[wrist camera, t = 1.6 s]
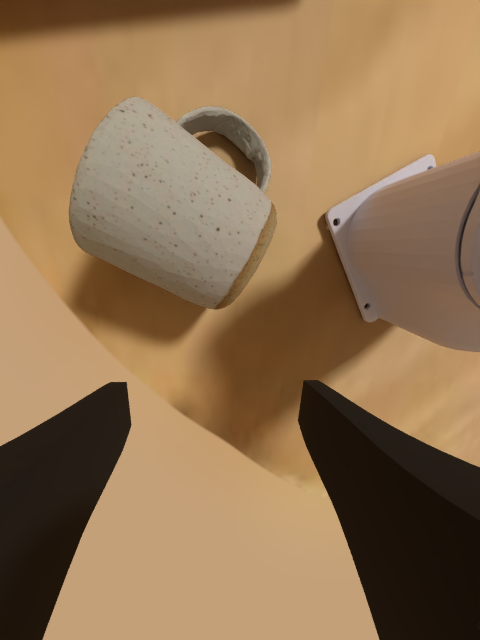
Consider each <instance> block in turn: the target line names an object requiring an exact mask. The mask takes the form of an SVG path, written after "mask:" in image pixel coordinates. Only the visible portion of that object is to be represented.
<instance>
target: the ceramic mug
mask: <svg viewBox="0 0 480 640" xmlns="http://www.w3.org/2000/svg"><path fill="white" fill-rule="evenodd" d="M203 131H213V132H217V133H218V134H222V135H224V136H225V137H227V138H228V139H229V140H230V141H231V142H233V143H234V144H235V145H236V146H237V147H238V148H239V149H240V150H241V151H242V152H243V153H245V155H246V157H247V158H248V159H249V160H251V161H252V162H253V164H254V166H255V169H256V174H257V185H255V184H254V183H253V182H251V181H250V180H249V179H248V178H246V177H245V176H244V175H243V174H241V173H240V172H238V171H237V170H235V169H234V168H232V167H231V166H230V165H228V164H227V163H225V162H224V161H223V160H222V159H220V158H219V157H218V156H217V155H216V154H214V153H213V152H212V151H211V150H209V149H208V148H207V147H206V146H205V145H203V144H202V143H201V142H200V141H199V140H197V139H196V138H195V137H194V136H192V135H193V134H195V133H197V132H203ZM270 174H271V161H270V157H269V153H268V151H267V148H266V146H265V143H264V142H263V140H262V139H261V137H260V136H259V134H258V133H257V132H256V131H255V129H254V128H253V127H252V126H251V125H250V124H249V123H248V122H247V121H246V120H244V119H243V118H242V117H240V116H239V115H238V114H236V113H234V112H232V111H230V110H228V109H225V108H222V107H217V106H206V107H201V108H197V109H194V110H192V111H190V112H188V113H186V114H185V115H184V116H182V117H181V118H180V119H178V120H177V121H176V122H175V121H174V120H172V119H171V118H170V117H169V116H167V115H166V114H165V113H164V112H162V111H161V110H160V109H158V108H157V107H156V106H154V105H153V104H151V103H150V102H148V101H147V100H145V99H143V98H138V97H130V98H128V99H125V100H123V101H122V102H120V103H119V104H117V105H116V106H114V107H113V108H112V110H111V111H110V112H109V113H108V114H107V115H106V116H105V117H104V119H103V120H102V121H101V122H100V124H99V125H98V126H97V128H96V129H95V130H94V132H93V134H92V136H91V138H90V140H89V142H88V144H87V146H86V148H85V150H84V152H83V154H82V157H81V159H80V162H79V164H78V167H77V170H76V175H75V180H74V184H73V187H72V192H71V197H70V206H69V223H70V227H71V231H72V235H73V237H74V240H75V242H76V243H77V245H78V246H79V247H80V248H81V249H82V250H83V251H85V252H86V253H88V254H90V255H92V256H94V257H97V258H99V259H101V260H103V261H105V262H108V263H110V264H112V265H114V266H116V267H118V268H120V269H122V270H124V271H126V272H128V273H130V274H132V275H134V276H136V277H138V278H140V279H143V280H145V281H147V282H149V283H152V284H154V285H156V286H158V287H160V288H163V289H165V290H167V291H169V292H171V293H173V294H174V295H176V296H178V297H180V298H182V299H184V300H187V301H189V302H191V303H194V304H196V305H199V306H203V307H206V308H209V309H221V308H225V307H226V306H228V305H230V304H231V303H232V302H233V301H234V300H235V299H236V298H237V297H238V296H239V294H240V293H241V292H242V290H243V289H244V288H245V286H246V285H247V283H248V282H249V280H250V279H251V277H252V276H253V274H254V273H255V271H256V269H257V268H258V266H259V264H260V262H261V260H262V258H263V256H264V254H265V252H266V250H267V248H268V246H269V244H270V242H271V239H272V236H273V233H274V230H275V228H276V224H277V213H276V210H275V207H274V205H273V203H272V202H271V201H270V200H269V199H268V198H267V196H266V195H265V192H266V190H267V188H268V183H269V180H270Z"/></svg>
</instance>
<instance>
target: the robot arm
mask: <svg viewBox="0 0 480 640" xmlns="http://www.w3.org/2000/svg"><path fill="white" fill-rule="evenodd" d="M427 168H428V170H427ZM325 219H326V222H327V225H328V227H329V230H330V232H331V235H332V238H333V240H334V243H335V246H336V248H337V251H338V254H339V256H340V259H341V262H342V264H343V267H344V270H345V272H346V275H347V278H348V280H349V283H350V286H351V288H352V291H353V293H354V296H355V299H356V301H357V304H358V307H359V309H360V312H361V315H362V317H363V319H364V321H366V322H368V323H371V322H374V321H375V320H377V319H379V318H380V319H382V320H384V321H387V322H389V323H391V324H393V325H396V326H398V327H400V328H402V329H405V330H407V331H409V332H411V333H413V334H416V335H418V336H420V337H422V338H425V339H427V340H429V341H431V342H433V343H436V344H438V345H441V346H444V347H447V348H451V349H455V350H462V351H470V352H480V151H478V152H475V153H472V154H470V155H467V156H464V157H461V158H459V159H456V160H453V161H450V162H448V163H445V164H442V165H440V166H437V167H436V163H435V159H434V156H432V155H430V154H428V155H425V156H423V157H421V158H419V159H418V160H416V161H414V162H412V163H410V164H409V165H407V166H405V167H403V168H402V169H400V170H398V171H396V172H394V173H393V174H391V175H389V176H387V177H386V178H384V179H382V180H380V181H378V182H377V183H375V184H373V185H371V186H370V187H368V188H366V189H364V190H362V191H361V192H359V193H357V194H355V195H353V196H352V197H350V198H348V199H346V200H345V201H343V202H341V203H339V204H337V205H336V206H334V207H332V208H330V209H329V210H328V211H327V212H326V214H325ZM334 219H337V221H338V223H337V225H336V226H334V224H333V221H334ZM365 304H368V305H367V307H366V308H364V306H365ZM298 422H299V426H300V429H301V432H302V435H303V438H304V441H305V444H306V447H307V449H308V451H309V453H310V456H311V458H312V460H313V462H314V464H315V467H316V469H317V471H318V473H319V475H320V477H321V480H322V482H323V484H324V486H325V488H326V490H327V493H328V495H329V497H330V499H331V501H332V503H333V506H334V508H335V511H336V513H337V515H338V518H339V521H340V524H341V526H342V529H343V532H344V535H345V537H346V540H347V543H348V546H349V549H350V551H351V554H352V556H353V560H354V563H355V566H356V569H357V572H358V575H359V578H360V581H361V584H362V587H363V589H364V592H365V595H366V599H367V602H368V605H369V608H370V611H371V614H372V618H373V621H374V623H375V627H376V630H377V633H378V636H379V639H380V640H480V467H477V466H475V465H472V464H470V463H468V462H465V461H463V460H461V459H458V458H456V457H454V456H452V455H449V454H447V453H445V452H442V451H440V450H438V449H436V448H434V447H432V446H430V445H427V444H425V443H423V442H421V441H420V440H418V439H416V438H414V437H412V436H410V435H408V434H406V433H404V432H402V431H400V430H398V429H396V428H394V427H393V426H391V425H389V424H387V423H386V422H384V421H382V420H381V419H379V418H377V417H375V416H374V415H372V414H370V413H369V412H367V411H366V410H364V409H362V408H361V407H359V406H358V405H356V404H355V403H353V402H351V401H350V400H348V399H347V398H345V397H344V396H342V395H341V394H339V393H338V392H336V391H335V390H333V389H331V388H330V387H328V386H327V385H325V384H323V383H322V382H320V381H318V380H304V382H303V389H302V396H301V403H300V410H299V417H298ZM130 428H131V417H130V408H129V400H128V390H127V382H110V383H108V384H106V385H104V386H103V387H101V388H99V389H98V390H96V391H95V392H93V393H91V394H90V395H88V396H86V397H85V398H83V399H81V400H80V401H78V402H77V403H75V404H73V405H72V406H70V407H69V408H67V409H65V410H64V411H62V412H60V413H59V414H57V415H55V416H54V417H52V418H51V419H49V420H47V421H45V422H43V423H42V424H40V425H38V426H36V427H35V428H33V429H31V430H29V431H28V432H26V433H24V434H22V435H21V436H19V437H17V438H15V439H13V440H11V441H9V442H8V443H6V444H4V445H2V446H0V640H42V639H43V636H44V633H45V631H46V628H47V625H48V623H49V620H50V617H51V615H52V612H53V609H54V607H55V604H56V601H57V598H58V596H59V593H60V590H61V588H62V585H63V582H64V580H65V577H66V574H67V572H68V569H69V567H70V564H71V562H72V559H73V557H74V554H75V552H76V549H77V547H78V544H79V541H80V539H81V537H82V534H83V532H84V529H85V527H86V525H87V523H88V521H89V519H90V516H91V514H92V512H93V510H94V508H95V506H96V504H97V502H98V500H99V498H100V496H101V494H102V492H103V490H104V488H105V486H106V483H107V482H108V480H109V478H110V476H111V474H112V472H113V469H114V467H115V465H116V463H117V461H118V459H119V457H120V455H121V453H122V451H123V448H124V445H125V442H126V439H127V437H128V434H129V431H130Z"/></svg>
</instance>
